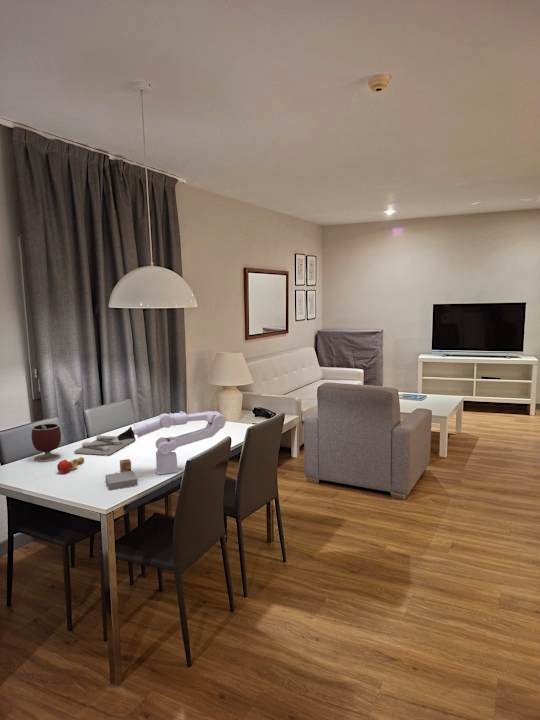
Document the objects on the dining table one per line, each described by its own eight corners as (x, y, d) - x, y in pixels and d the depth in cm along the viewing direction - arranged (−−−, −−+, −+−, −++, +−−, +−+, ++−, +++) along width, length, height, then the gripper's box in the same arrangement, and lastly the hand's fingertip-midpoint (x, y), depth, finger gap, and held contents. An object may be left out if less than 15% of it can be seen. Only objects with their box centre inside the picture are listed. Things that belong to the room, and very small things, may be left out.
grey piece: (103, 439, 297) (102, 427, 296) (136, 441, 292) (136, 429, 292) (73, 454, 268) (72, 441, 267) (109, 457, 263) (108, 444, 262)
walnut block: (129, 471, 240) (129, 458, 240) (131, 473, 236) (131, 461, 236) (120, 472, 238) (119, 460, 238) (121, 475, 234) (121, 463, 234)
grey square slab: (132, 477, 232) (132, 470, 231) (137, 485, 221) (137, 479, 221) (105, 481, 227) (105, 474, 226) (109, 490, 216) (108, 483, 216)
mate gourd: (36, 455, 265) (33, 418, 263) (64, 453, 269) (61, 417, 266) (29, 465, 250) (27, 426, 248) (59, 462, 254) (57, 424, 251)
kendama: (73, 464, 254) (51, 472, 237) (75, 452, 254) (54, 458, 236) (86, 468, 253) (66, 475, 235) (89, 456, 253) (68, 462, 235)
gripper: (143, 420, 241) (115, 430, 237) (144, 418, 227) (114, 429, 223) (148, 433, 240) (120, 444, 236) (149, 433, 227) (120, 444, 223)
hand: (118, 438), depth 230 cm, fingers open, 7 cm apart
